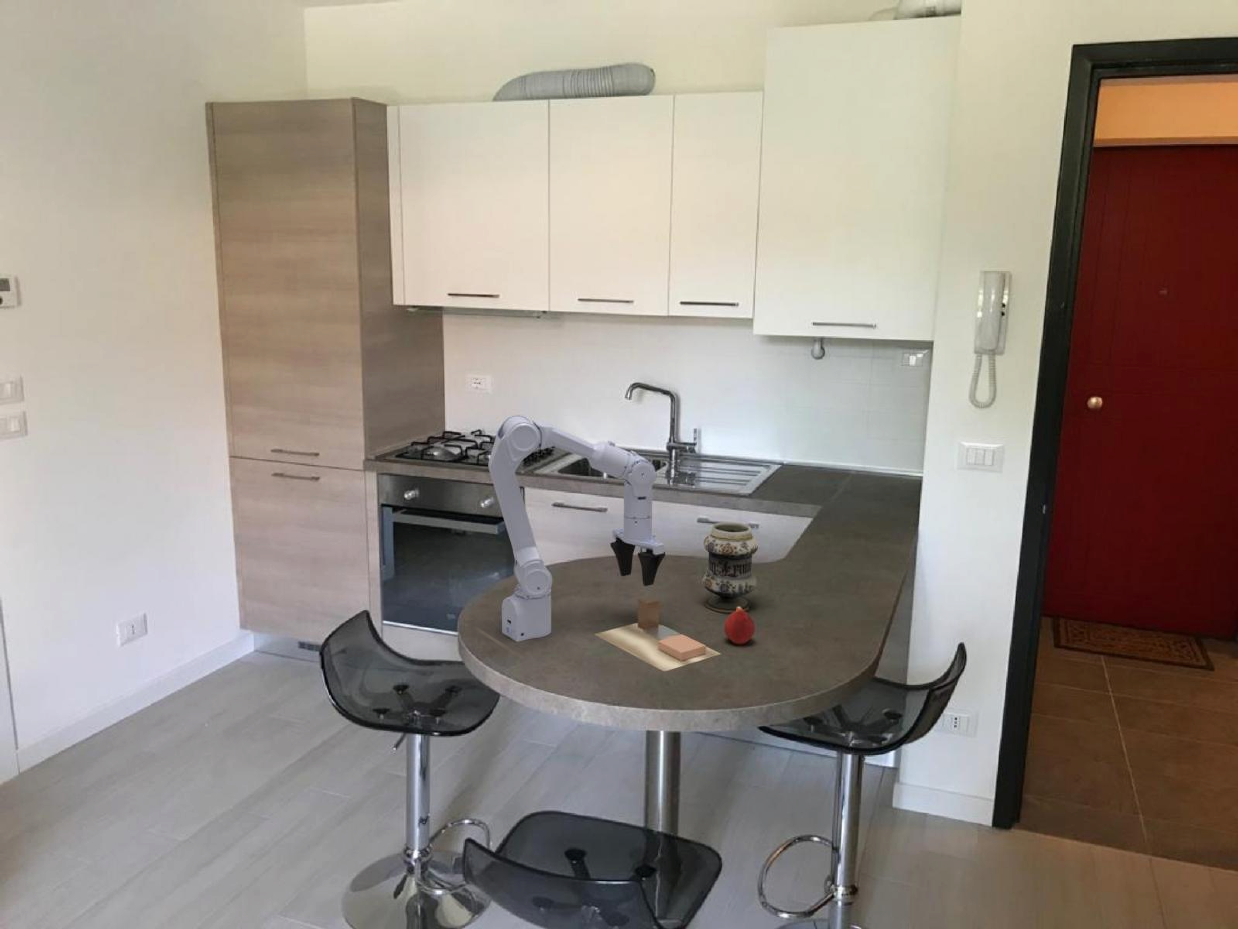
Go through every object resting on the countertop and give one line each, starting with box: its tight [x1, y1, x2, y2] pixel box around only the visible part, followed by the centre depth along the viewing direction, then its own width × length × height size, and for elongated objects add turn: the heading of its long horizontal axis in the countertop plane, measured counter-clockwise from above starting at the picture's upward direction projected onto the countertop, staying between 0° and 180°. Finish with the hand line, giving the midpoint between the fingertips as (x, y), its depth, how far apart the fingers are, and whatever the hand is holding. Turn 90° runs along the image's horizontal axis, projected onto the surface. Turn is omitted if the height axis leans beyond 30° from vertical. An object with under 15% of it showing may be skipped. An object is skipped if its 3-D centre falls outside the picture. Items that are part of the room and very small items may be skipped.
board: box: [593, 622, 722, 673], centre depth 182 cm, size 14×22×1 cm, turn 37°
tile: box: [658, 633, 707, 661], centre depth 178 cm, size 6×2×7 cm
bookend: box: [637, 595, 681, 641], centre depth 188 cm, size 5×8×6 cm, turn 37°
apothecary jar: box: [701, 521, 759, 614], centre depth 205 cm, size 12×12×18 cm
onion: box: [723, 607, 756, 645], centre depth 183 cm, size 6×6×8 cm
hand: (636, 580), depth 192 cm, fingers open, 7 cm apart
